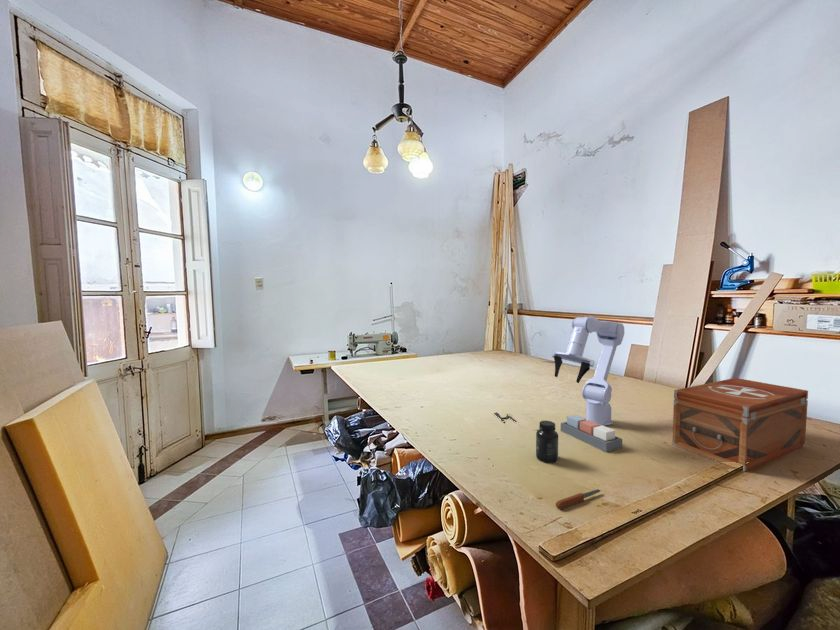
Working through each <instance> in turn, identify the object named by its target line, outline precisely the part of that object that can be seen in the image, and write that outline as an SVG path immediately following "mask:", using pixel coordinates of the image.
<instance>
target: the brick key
mask: <svg viewBox="0 0 840 630" xmlns="http://www.w3.org/2000/svg"><path fill="white" fill-rule="evenodd" d="M598 426H600V424H598V423H595V422H593V421H590V420H586V421H581V422H580V430H582V431H584V432H586V433H589V434H593V432H594V427H598Z"/></svg>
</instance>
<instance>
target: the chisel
mask: <svg viewBox="0 0 840 630" xmlns="http://www.w3.org/2000/svg"><path fill="white" fill-rule="evenodd" d="M600 492H601V490H600V489H594V490H591V491H587V492H585V493H582V492H579V493H577V494H574V495H570V496H568V497H565V498H562V499H560V500H558V501H556V503H555V507H556V508H557V509H559V510H564V509H566V508H568V507H571V506H573V505H576V504H578V503H581V502H584V500H585V499H586V498H588V497H591V496H594V495H596V494H597V493H600Z"/></svg>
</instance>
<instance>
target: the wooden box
mask: <svg viewBox="0 0 840 630" xmlns="http://www.w3.org/2000/svg"><path fill="white" fill-rule="evenodd" d="M673 391H674V392H673V414H672V415H673V417H672V442H671V443H672V446H674V447H677V448H680V449H682V450H685V451H688V452H690V453H693V454H696V455H698V456H701V457H704V458H706V459H709V460H712V459H713V460H712V461H714V460H716V461H715V462H717V461H718V462H717V463H720V462H736V463H739V464H742V465H743V471H742V472H744V473H745V472H748V471H750V470H752V469H754V468H757V467H759V466H761V465H765V464H766V463H769V462H771V461H774V460H776V459H778V458H781V457H783V456H786V455H788V454H790V453H793V452H795V451H797V450H800V449H802V448H805V447H806V437H807V436H806V432H807V421H808V420H807V415H808V400H809V399H808V397H809V390H807V389H801V388H796V387H790V386H784V385H777V384H772V383H766V382H761V381H755V380H748V379H744V378H738V377H733V378H728V379H723V380H718V381H712V382H709V383H704V384H698V385H694V386H693V385H692V386H689V387H683V388H678V389H674V390H673ZM747 462H750V463H749V464H747V465H746V463H747Z"/></svg>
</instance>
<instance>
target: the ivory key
mask: <svg viewBox="0 0 840 630" xmlns="http://www.w3.org/2000/svg"><path fill="white" fill-rule="evenodd" d="M593 436H595V437H598V438H600V439H602V440H605V441H608V440H612V439H615V436H616V430H615V429H612V428H610V427H608V426H603V425H602V426H598V427H594V432H593Z"/></svg>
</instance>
